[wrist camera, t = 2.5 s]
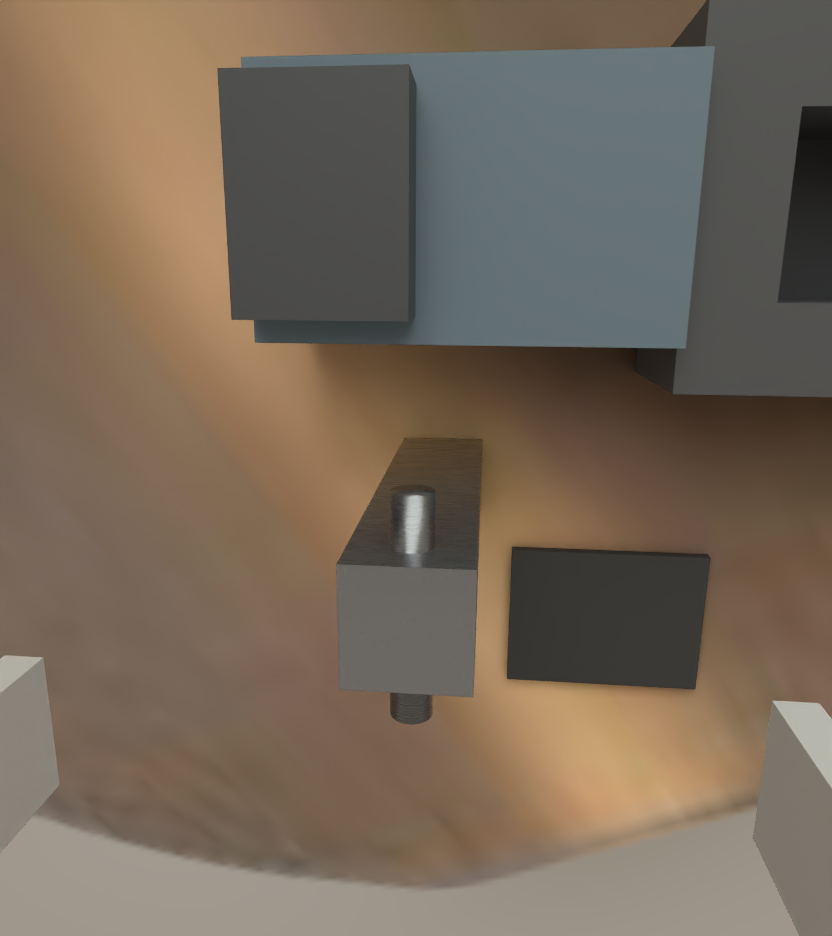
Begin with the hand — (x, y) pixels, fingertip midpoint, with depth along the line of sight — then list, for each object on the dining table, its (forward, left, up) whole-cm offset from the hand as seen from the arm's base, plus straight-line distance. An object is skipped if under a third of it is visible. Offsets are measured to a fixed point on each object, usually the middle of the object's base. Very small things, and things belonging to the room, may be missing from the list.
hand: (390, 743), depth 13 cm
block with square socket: (+7, +10, -18) cm, 22 cm away
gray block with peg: (0, 0, -18) cm, 18 cm away
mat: (+7, -6, -18) cm, 20 cm away
